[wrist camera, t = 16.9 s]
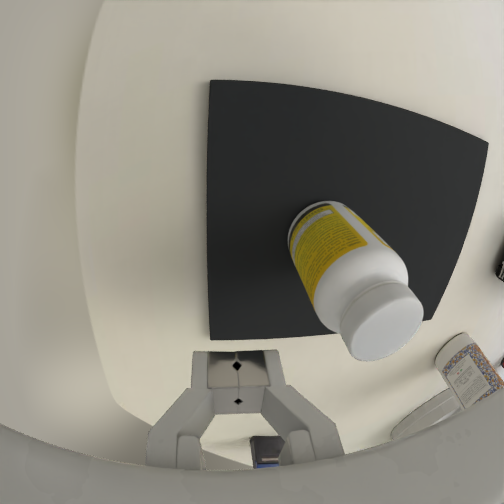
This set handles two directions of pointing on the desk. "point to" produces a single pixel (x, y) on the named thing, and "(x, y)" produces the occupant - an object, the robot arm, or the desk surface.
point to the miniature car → (500, 272)
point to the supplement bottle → (354, 280)
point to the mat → (325, 196)
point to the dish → (428, 414)
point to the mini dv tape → (266, 451)
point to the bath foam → (467, 371)
